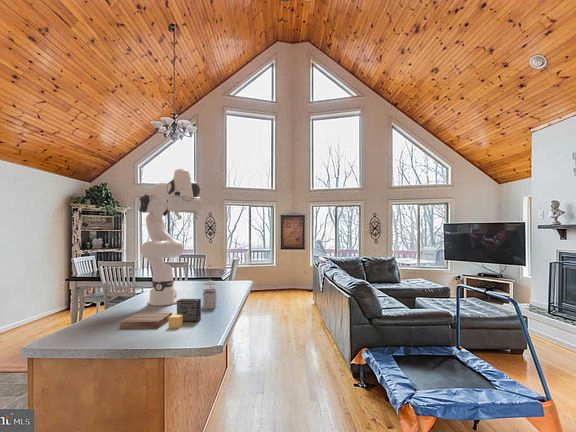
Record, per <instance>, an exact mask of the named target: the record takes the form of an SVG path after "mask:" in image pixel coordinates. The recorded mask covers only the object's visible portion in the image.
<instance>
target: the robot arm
mask: <svg viewBox="0 0 576 432" xmlns="http://www.w3.org/2000/svg"><path fill="white" fill-rule="evenodd" d="M173 173H174V175H173V178H172V179H171V180H170V181H169V182H158V183H155V184H154V185H152V186H151V188H150V189H149V190H150V192H149V194H147V193H145V194H144V195H141V196H140V197H139V198H138V199H137V202H136V203H137V204H136V206H137V210H138V211H139V213H144V214H145V213H148V214H147V215H146V217H145V225H146V230H147V234H148V236H149V239H150V241H145V242H143V244H142V245H141V248H140V253H141V255H142V257H143V258H144V259H146V260H147V261H148V262H149V263H150V266H151V268H152V276H153V277H152V279H153V280H152V283H151V286H152V288H151V289H150V291H149V301H147V303H146V304H148V305H150V306H154V307H155V306H156V307H157V306H160V307H161V306H169V305H177V301H178V300H180V299H181V297H179V296H178V293H177V290H176V288H175V287H174V283H175V280H174V279H173V268H172V266H171V265H170V264H167V263H166V262H164V259H171V258H172V259H173V258H178V257H180V256H182V255H183V253H184V250H185V249H184V245H183V243H182V242H181V241H179V240H177V239H175V238H174V237H173V236H172V235H170V234H169V232H168V229H167V228H166V225H165V222H164V219H163V217H165V216H167V215H168V214H169V213H174V215H175V216H176V218H177V220H182V219H183V218H182V215H181V214H180V213H185V214H186V213H188V214H189V213H190V214H194V215H195V216H194V217H193V221H197V220H198V219H199V218H198V217H199V214H203V212H204V211H205V207H204V202H203V199H202V198H201V197H199V195H200V194H201V193H200V192H201V188H200V187H201V186H200V185H199V184H198V183H197V182H196V181H192V179H191V175H190V172H189V170H187V169H184V168H179V169H176V170H174V172H173Z"/></svg>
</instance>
